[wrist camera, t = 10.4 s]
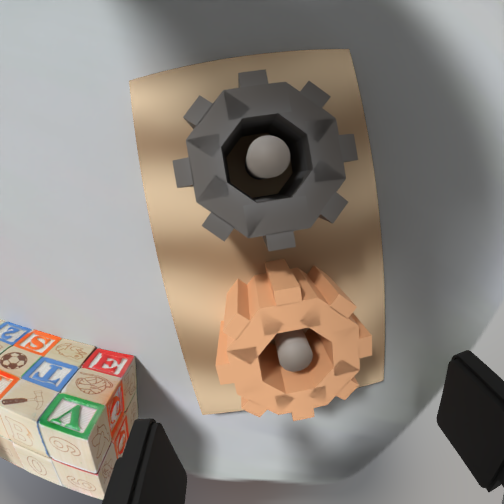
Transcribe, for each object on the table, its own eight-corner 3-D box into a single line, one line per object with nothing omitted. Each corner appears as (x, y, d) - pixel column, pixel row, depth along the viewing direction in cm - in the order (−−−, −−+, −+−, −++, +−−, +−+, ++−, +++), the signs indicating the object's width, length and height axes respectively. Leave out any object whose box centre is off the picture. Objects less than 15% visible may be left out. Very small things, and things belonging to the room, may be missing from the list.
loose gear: (210, 271, 18) (199, 303, 13) (336, 249, 18) (369, 272, 13) (234, 378, 20) (233, 430, 15) (345, 357, 20) (370, 402, 15)
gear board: (136, 87, 17) (90, 47, 10) (341, 57, 17) (385, 8, 10) (204, 402, 22) (194, 472, 15) (376, 370, 22) (415, 428, 15)
